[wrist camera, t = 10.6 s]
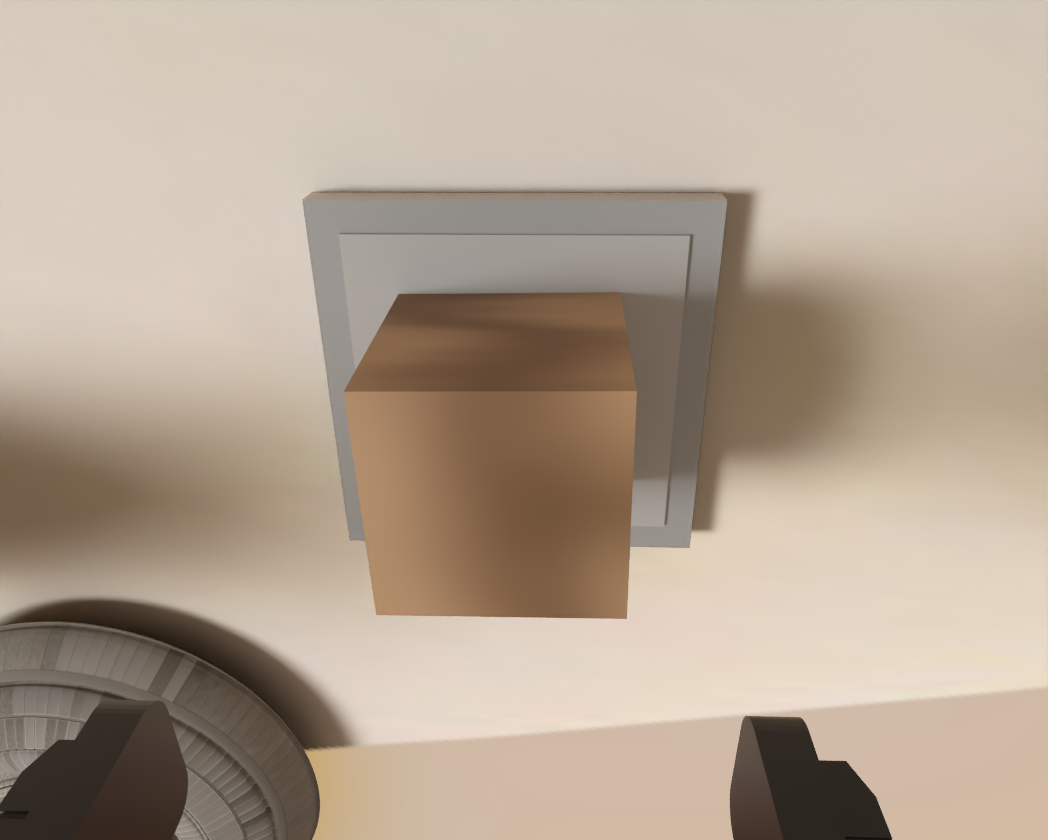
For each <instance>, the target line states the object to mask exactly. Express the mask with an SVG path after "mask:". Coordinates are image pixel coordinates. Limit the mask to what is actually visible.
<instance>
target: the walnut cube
mask: <svg viewBox="0 0 1048 840" xmlns="http://www.w3.org/2000/svg"><path fill="white" fill-rule="evenodd" d="M344 399H345V406H346V412H347V419H348V426H349V433H350V439H351V446H352V453H353V460H354V466H355V473H356V480H357V487H358V493H359V500H360V507H361V514H362V520H363V527H364V534H365V541H366V548H367V554H368V561H369V568H370V575H371V581H372V588H373V595H374V602H375V608H376V615H414V616H481V617H548V618H615V619H627V600H628V578H629V556H630V534H631V512H632V490H633V467H634V445H635V423H636V401H637V389H636V383H635V377H634V371H633V365H632V359H631V353H630V347H629V341H628V335H627V329H626V323H625V317H624V311H623V305H622V299H621V293H620V292H590V293H466V294H398V296H397V298H396V299H395V301H394V303H393V305H392V306H391V308H390V310H389V312H388V313H387V315H386V317H385V319H384V321H383V322H382V324H381V326H380V328H379V329H378V331H377V333H376V335H375V337H374V338H373V340H372V342H371V344H370V345H369V347H368V349H367V351H366V352H365V354H364V356H363V358H362V360H361V361H360V363H359V365H358V367H357V368H356V370H355V372H354V374H353V376H352V377H351V379H350V381H349V383H348V384H347V386H346V388H345V390H344Z"/></svg>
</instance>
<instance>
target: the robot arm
mask: <svg viewBox="0 0 1048 840" xmlns="http://www.w3.org/2000/svg"><path fill="white" fill-rule="evenodd" d="M187 792H188V773H187V769H186V766H185V762H184V759H183V756H182V753H181V750H180V747H179V743H178V740H177V737H176V734H175V731H174V728H173V724H172V721H171V718H170V715H169V712H168V709H167V707H166V705H165V704H164V703H163V702H162V701H152V700H105V701H103V702H101V703H100V704H99V705H98V706H97V707H96V708H95V709H94V711H93V712H92V713H91V715H90V716H89V718H88V720H87V721H86V723H85V724H84V726H83V727H82V729H81V731H80V732H79V734H78V735H77V737H76V739H75V740H58V741H56V742H55V743H54V744H53V745H52V746H51V747H50V748H48V749H47V750H46V751H45V752H44V753H43V754H42V755H40V756H39V757H38V758H37V759H36V760H35V761H34V762H33V763H31V764H30V765H29V766H28V767H27V768H26V769H25V770H23V771H22V772H21V774H20V775H19V777H18V778H17V780H16V781H15V783H14V784H13V785H12V787H11V788H10V790H9V791H8V793H7V794H6V796H5V797H4V799H3V800H2V802H1V803H0V840H172V838H173V835H174V833H175V831H176V829H177V827H178V824H179V822H180V820H181V817H182V814H183V811H184V808H185V804H186V799H187ZM730 814H731V825H732V832H733V838H734V840H892V837H891V834H890V832H889V829H888V826H887V824H886V822H885V819H884V816H883V814H882V811H881V809H880V806H879V804H878V801H877V798H876V796H875V795H874V794H873V793H872V792H871V790H870V789H869V788H868V787H867V786H866V784H865V783H864V782H863V781H862V780H861V778H860V777H859V776H858V775H857V774H856V772H855V771H854V770H853V769H852V768H851V767H850V765H849V764H848V763H847V762H846V761H819V760H818V757H817V754H816V751H815V748H814V745H813V742H812V739H811V736H810V733H809V730H808V728H807V726H806V724H805V722H804V721H803V719H802V718H799V717H763V716H746V717H744V719H743V722H742V726H741V731H740V737H739V743H738V748H737V754H736V760H735V765H734V771H733V777H732V783H731V789H730Z"/></svg>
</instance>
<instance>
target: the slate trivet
mask: <svg viewBox="0 0 1048 840" xmlns="http://www.w3.org/2000/svg"><path fill="white" fill-rule="evenodd" d="M303 207H304V215H305V222H306V229H307V236H308V243H309V250H310V258H311V265H312V272H313V279H314V286H315V293H316V301H317V308H318V315H319V322H320V329H321V336H322V344H323V351H324V358H325V365H326V372H327V379H328V387H329V394H330V401H331V408H332V415H333V423H334V430H335V437H336V444H337V451H338V458H339V466H340V473H341V480H342V487H343V494H344V501H345V509H346V516H347V523H348V530H349V537H350V540H365V534H364V527H363V520H362V514H361V507H360V500H359V493H358V487H357V480H356V473H355V466H354V460H353V453H352V446H351V439H350V433H349V426H348V419H347V412H346V406H345V399H344V390H345V388H346V386H347V384H348V383H349V381H350V379H351V377H352V376H353V374H354V372H355V370H356V368H357V367H358V365H359V363H360V361H361V360H362V358H363V356H364V354H365V352H366V351H367V349H368V347H369V345H370V344H371V342H372V340H373V338H374V337H375V335H376V333H377V331H378V329H379V328H380V326H381V324H382V322H383V321H384V319H385V317H386V315H387V313H388V312H389V310H390V308H391V306H392V305H393V303H394V301H395V299H396V298H397V296H398V294H466V293H590V292H620V293H621V299H622V305H623V311H624V317H625V323H626V329H627V335H628V341H629V347H630V353H631V359H632V365H633V371H634V377H635V383H636V389H637V401H636V423H635V445H634V467H633V490H632V512H631V534H630V547H671V548H689V547H690V538H691V529H692V520H693V511H694V501H695V492H696V483H697V474H698V465H699V456H700V447H701V437H702V428H703V419H704V410H705V401H706V392H707V383H708V374H709V364H710V355H711V346H712V337H713V328H714V319H715V310H716V300H717V291H718V282H719V273H720V264H721V255H722V246H723V236H724V227H725V218H726V209H727V199H726V198H725V197H724V195H723V194H722V193H434V192H312V193H311V194H309V195H308V196H307V197H305V198H304V199H303Z"/></svg>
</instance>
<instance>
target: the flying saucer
mask: <svg viewBox="0 0 1048 840" xmlns="http://www.w3.org/2000/svg"><path fill="white" fill-rule="evenodd" d="M105 700H152V701H162V702H163V703H164V704H165V705H166V707H167V709H168V712H169V715H170V718H171V721H172V724H173V728H174V731H175V734H176V737H177V740H178V743H179V747H180V750H181V753H182V756H183V759H184V762H185V766H186V769H187V773H188V792H187V799H186V804H185V808H184V811H183V814H182V817H181V820H180V822H179V824H178V827H177V829H176V831H175V833H174V835H173V838H172V840H312V838H313V835H314V833H315V830H316V827H317V823H318V818H319V811H320V798H319V790H318V785H317V781H316V777H315V774H314V771H313V768H312V766H311V763H310V761H309V759H308V757H307V755H306V753H305V751H304V750H303V748H302V746H301V744H300V743H299V741H298V740H297V738H296V737H295V735H294V734H293V733H292V731H291V730H290V729H289V727H288V726H287V725H286V724H285V723H284V721H283V720H282V719H281V718H280V717H279V716H278V715H277V714H276V713H275V712H274V711H273V710H272V709H271V708H270V707H269V706H268V705H267V704H266V703H265V702H264V701H263V700H262V699H261V698H259V697H258V696H257V695H256V694H255V693H253V692H252V691H251V690H250V689H248V688H247V687H246V686H244V685H243V684H242V683H240V682H239V681H238V680H236V679H235V678H233V677H232V676H230V675H229V674H227V673H226V672H224V671H222V670H221V669H219V668H217V667H215V666H214V665H212V664H210V663H208V662H206V661H205V660H203V659H201V658H199V657H197V656H195V655H193V654H190V653H188V652H186V651H184V650H182V649H179V648H177V647H174V646H172V645H169V644H167V643H164V642H161V641H158V640H156V639H152V638H149V637H146V636H143V635H140V634H136V633H132V632H129V631H124V630H120V629H115V628H111V627H105V626H99V625H93V624H85V623H75V622H56V621H43V622H25V623H16V624H8V625H3V626H0V803H1V802H2V800H3V799H4V797H5V796H6V794H7V793H8V791H9V790H10V788H11V787H12V785H13V784H14V783H15V781H16V780H17V778H18V777H19V775H20V774H21V772H22V771H23V770H25V769H26V768H27V767H28V766H29V765H30V764H31V763H33V762H34V761H35V760H36V759H37V758H38V757H39V756H40V755H42V754H43V753H44V752H45V751H46V750H47V749H48V748H50V747H51V746H52V745H53V744H54V743H55V742H56V741H58V740H75V739H76V737H77V735H78V734H79V732H80V731H81V729H82V727H83V726H84V724H85V723H86V721H87V720H88V718H89V716H90V715H91V713H92V712H93V711H94V709H95V708H96V707H97V706H98V705H99V704H100V703H101V702H103V701H105Z"/></svg>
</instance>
